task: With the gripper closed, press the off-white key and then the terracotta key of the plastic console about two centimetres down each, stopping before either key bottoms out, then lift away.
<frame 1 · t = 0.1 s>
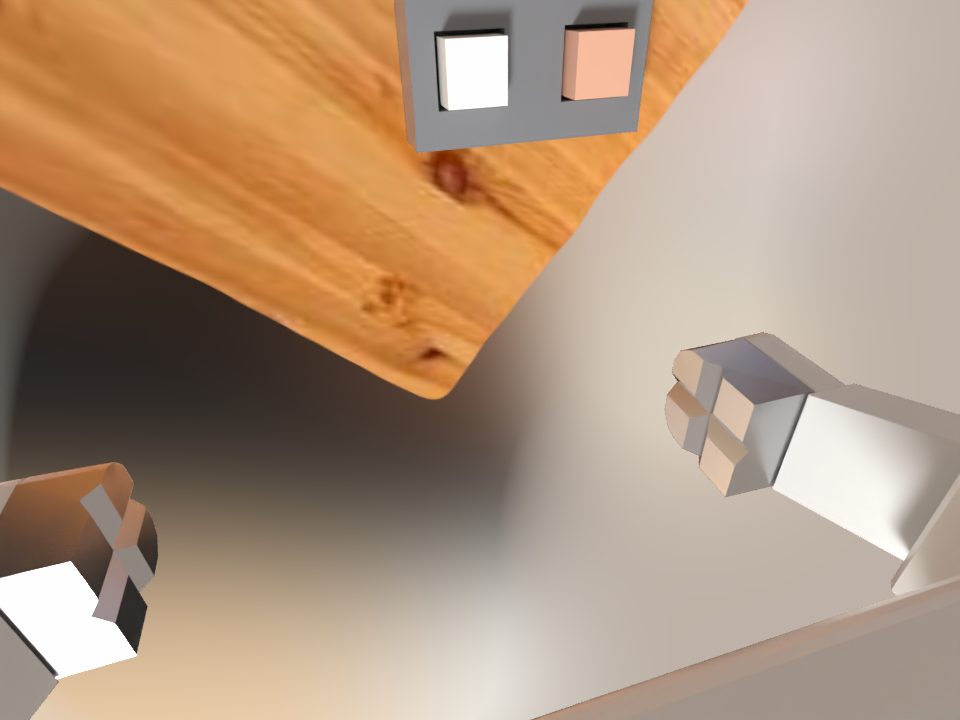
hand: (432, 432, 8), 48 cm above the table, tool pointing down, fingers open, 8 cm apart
white key: (472, 71, 45), point 5 cm above the table, slide at 0.0 cm
terracotta key: (596, 63, 47), point 5 cm above the table, slide at 0.0 cm
console: (514, 60, 51), on the table
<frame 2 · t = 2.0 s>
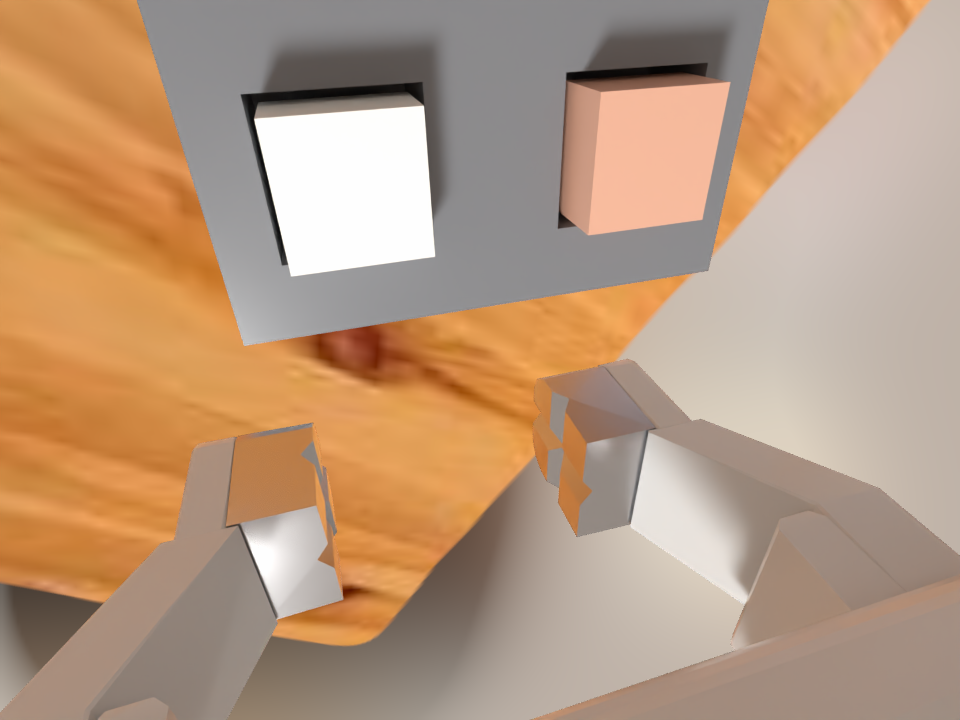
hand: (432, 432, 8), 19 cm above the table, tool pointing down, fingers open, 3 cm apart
white key: (350, 182, 19), point 5 cm above the table, slide at 0.0 cm
terracotta key: (635, 152, 22), point 6 cm above the table, slide at 0.0 cm
console: (463, 135, 25), on the table
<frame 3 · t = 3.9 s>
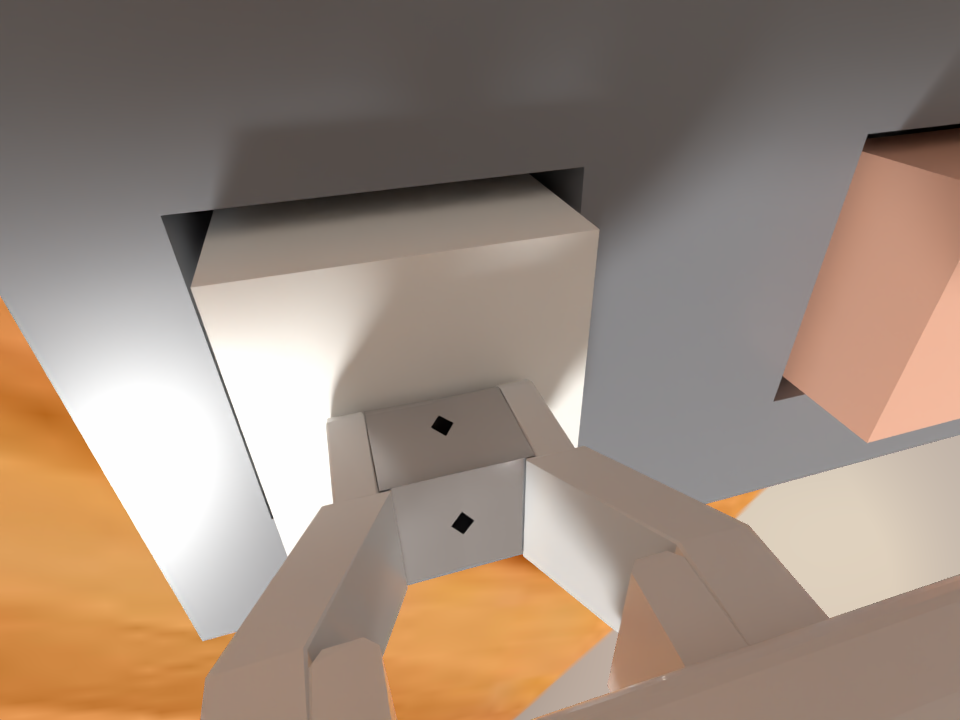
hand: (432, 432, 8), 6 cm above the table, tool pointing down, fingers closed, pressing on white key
white key: (409, 358, 9), point 5 cm above the table, slide at 0.6 cm, touching gripper
terracotta key: (950, 276, 11), point 5 cm above the table, slide at 0.0 cm
console: (584, 218, 14), on the table
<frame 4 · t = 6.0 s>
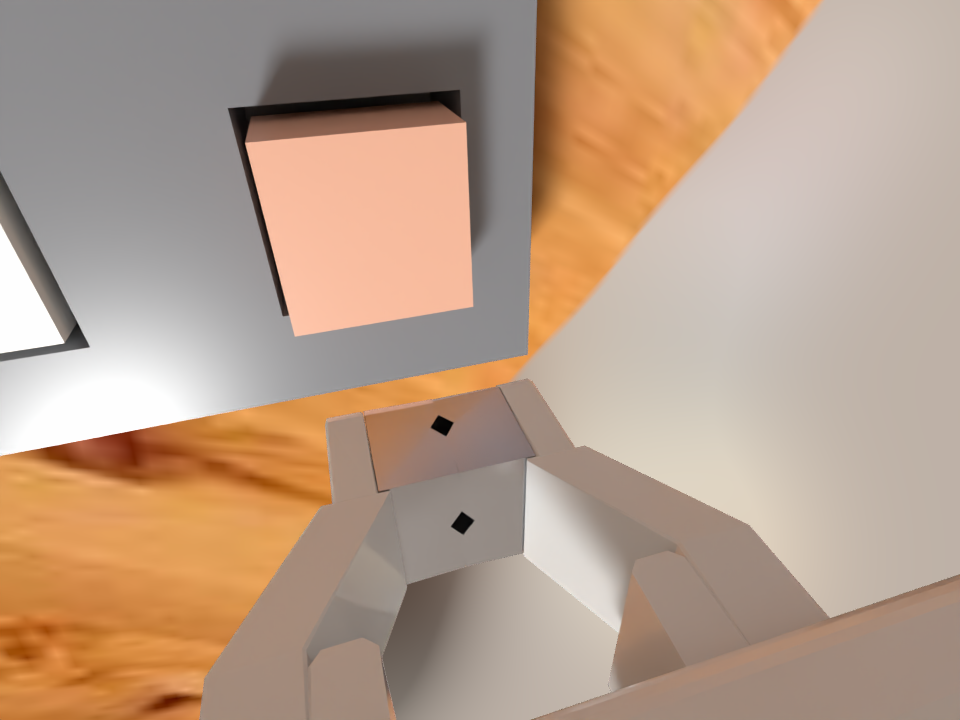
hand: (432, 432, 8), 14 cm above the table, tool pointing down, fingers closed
terracotta key: (367, 216, 15), point 5 cm above the table, slide at 0.0 cm
console: (181, 181, 18), on the table
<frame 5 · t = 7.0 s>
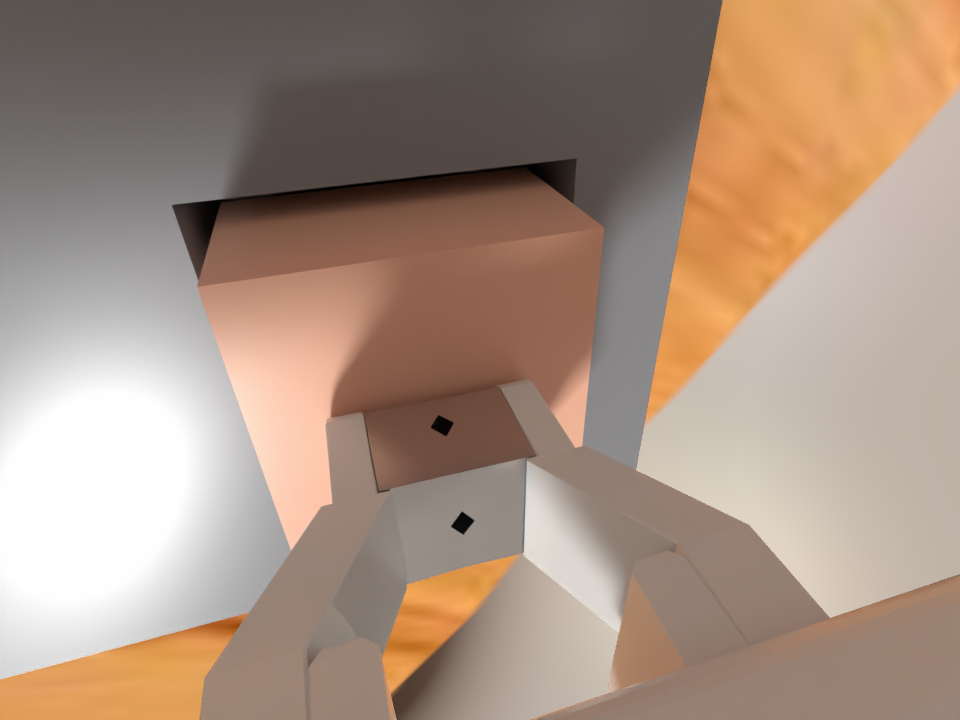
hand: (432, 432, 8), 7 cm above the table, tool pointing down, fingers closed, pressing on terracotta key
terracotta key: (413, 358, 9), point 5 cm above the table, slide at 0.2 cm, touching gripper
console: (126, 275, 12), on the table
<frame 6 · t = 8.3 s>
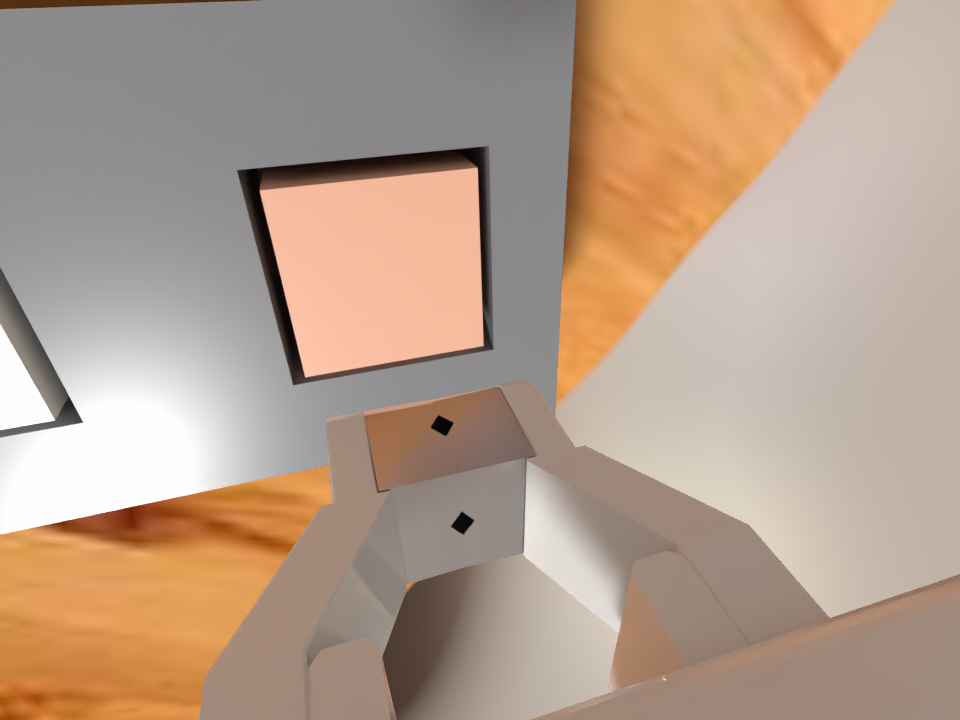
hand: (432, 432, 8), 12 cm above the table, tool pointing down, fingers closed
terracotta key: (379, 257, 15), point 4 cm above the table, slide at 1.7 cm
console: (186, 236, 17), on the table
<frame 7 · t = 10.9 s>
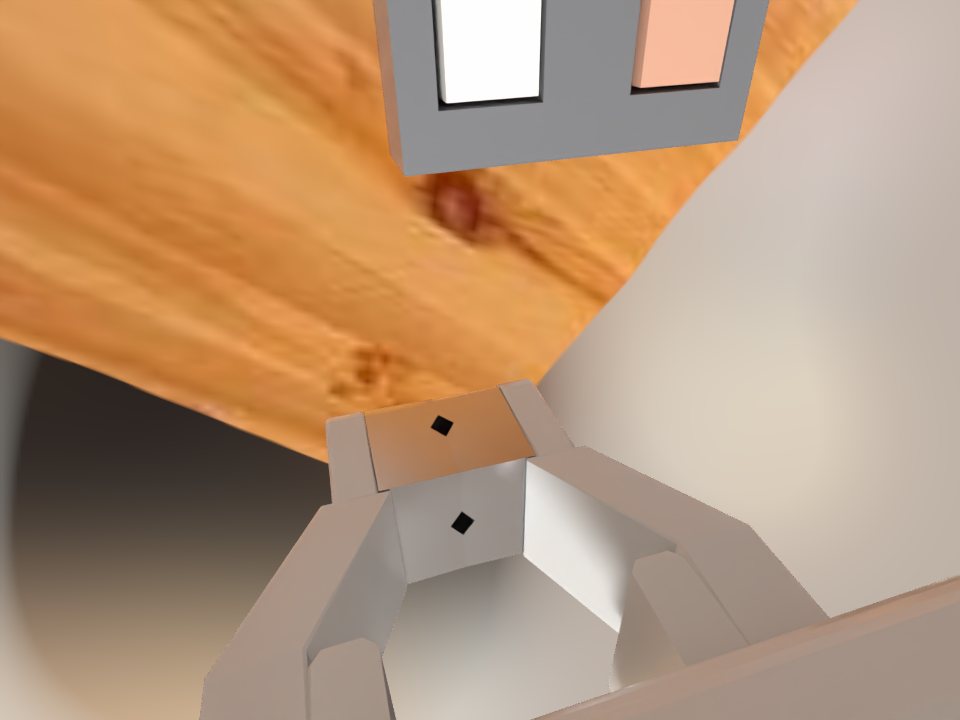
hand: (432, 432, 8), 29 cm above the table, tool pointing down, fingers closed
white key: (484, 42, 29), point 4 cm above the table, slide at 1.7 cm
terracotta key: (672, 31, 31), point 4 cm above the table, slide at 1.7 cm
console: (554, 32, 33), on the table
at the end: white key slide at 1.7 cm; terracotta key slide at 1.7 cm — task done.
